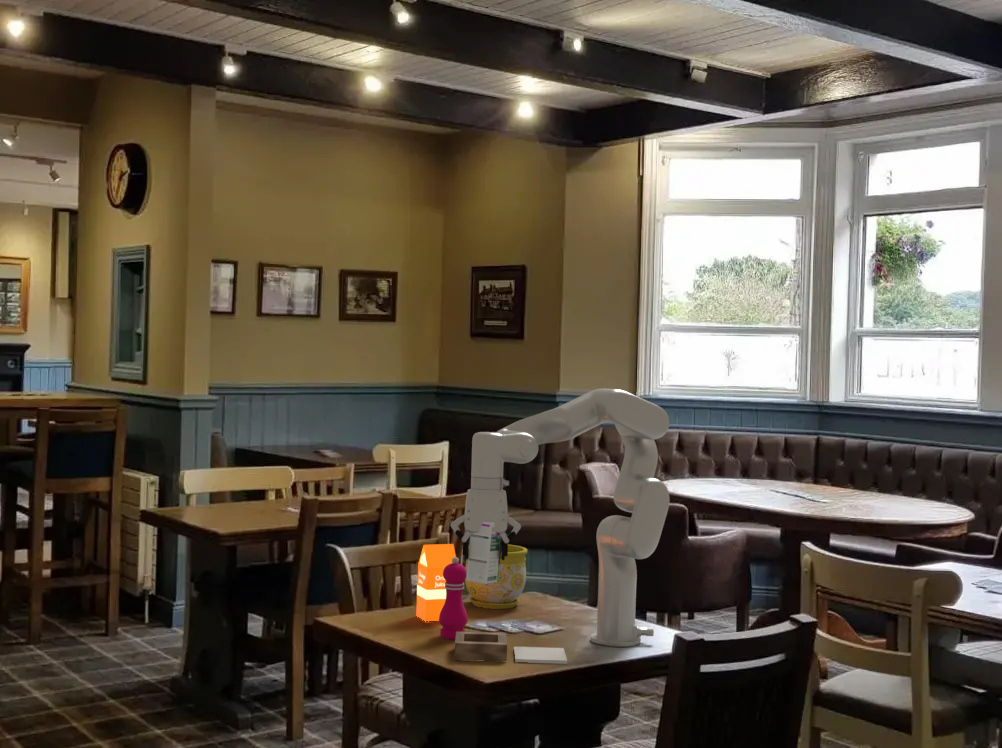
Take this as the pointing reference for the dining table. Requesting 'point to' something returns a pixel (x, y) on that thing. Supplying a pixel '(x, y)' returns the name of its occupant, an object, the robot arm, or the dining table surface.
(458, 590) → the pepper mill
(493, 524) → the syrup box
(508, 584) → the flowerpot
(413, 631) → the dining table surface
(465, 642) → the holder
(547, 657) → the plate
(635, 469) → the robot arm
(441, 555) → the orange juice
